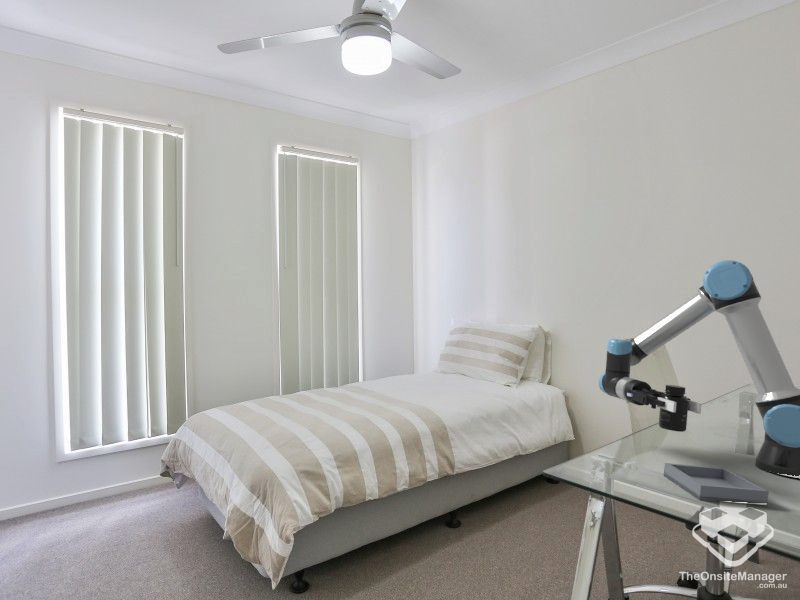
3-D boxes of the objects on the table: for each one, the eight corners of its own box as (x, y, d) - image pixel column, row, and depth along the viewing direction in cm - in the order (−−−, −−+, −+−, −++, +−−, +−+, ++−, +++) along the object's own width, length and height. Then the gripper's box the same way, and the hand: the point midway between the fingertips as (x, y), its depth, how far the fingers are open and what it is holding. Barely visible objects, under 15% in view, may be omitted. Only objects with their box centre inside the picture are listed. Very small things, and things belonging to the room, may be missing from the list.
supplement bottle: (690, 433, 132) (693, 389, 132) (662, 430, 133) (666, 386, 133) (681, 427, 138) (684, 385, 138) (655, 424, 140) (658, 382, 140)
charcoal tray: (723, 480, 131) (724, 468, 131) (767, 506, 115) (768, 491, 115) (663, 475, 131) (664, 462, 131) (699, 500, 115) (700, 485, 115)
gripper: (661, 404, 155) (718, 423, 132) (604, 401, 152) (653, 420, 129) (663, 381, 155) (721, 396, 132) (606, 377, 152) (655, 392, 129)
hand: (687, 407), depth 131 cm, fingers closed on supplement bottle, 7 cm apart
